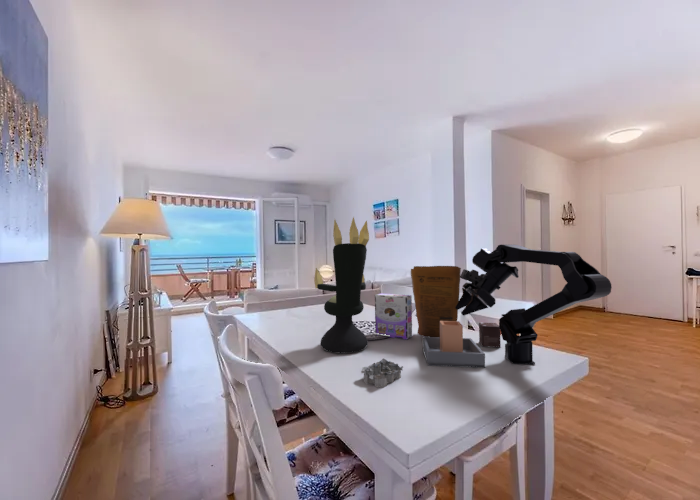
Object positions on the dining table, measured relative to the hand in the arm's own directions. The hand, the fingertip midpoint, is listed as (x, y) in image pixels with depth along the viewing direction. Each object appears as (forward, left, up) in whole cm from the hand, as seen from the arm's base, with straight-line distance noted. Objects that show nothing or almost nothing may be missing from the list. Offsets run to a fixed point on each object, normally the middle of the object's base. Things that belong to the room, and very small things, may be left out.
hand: (459, 311), depth 103 cm
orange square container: (+4, +5, -13) cm, 14 cm away
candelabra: (+37, 0, -14) cm, 40 cm away
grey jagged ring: (+25, +24, -14) cm, 37 cm away
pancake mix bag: (+5, -18, -14) cm, 23 cm away
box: (-13, -10, -14) cm, 21 cm away
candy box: (+21, -18, -14) cm, 31 cm away
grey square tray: (+3, +5, -14) cm, 15 cm away
